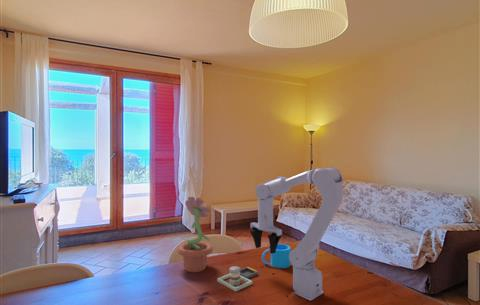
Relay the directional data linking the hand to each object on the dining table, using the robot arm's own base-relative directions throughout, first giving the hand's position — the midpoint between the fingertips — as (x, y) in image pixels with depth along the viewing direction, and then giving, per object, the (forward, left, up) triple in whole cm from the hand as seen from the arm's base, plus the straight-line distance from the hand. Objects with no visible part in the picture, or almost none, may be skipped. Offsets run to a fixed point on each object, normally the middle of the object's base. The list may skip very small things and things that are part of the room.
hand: (265, 250), depth 107 cm
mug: (+4, -11, -11) cm, 16 cm away
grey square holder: (+5, +5, -10) cm, 13 cm away
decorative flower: (+23, +16, -11) cm, 30 cm away
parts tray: (+3, +13, -10) cm, 17 cm away
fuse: (+3, +13, -10) cm, 17 cm away
